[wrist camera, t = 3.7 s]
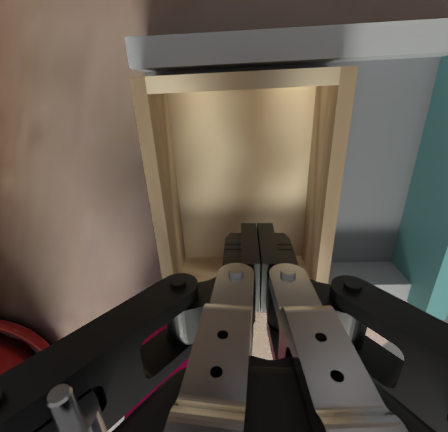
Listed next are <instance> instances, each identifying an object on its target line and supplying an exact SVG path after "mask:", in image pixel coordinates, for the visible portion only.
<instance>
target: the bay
mask: <svg viewBox="0 0 448 432" xmlns="http://www.w3.org/2000/svg"><path fill="white" fill-rule="evenodd" d="M124 38H125V45H126V51H127V57H128V63H129V69H132V70H137V71H143V72H146V76H162V75H182V74H201V73H221V72H240V71H260V70H279V69H299V68H318V67H338V66H357V65H358V72H357V79H356V86H355V93H354V101H353V108H352V115H351V122H350V129H349V137H348V144H347V151H346V158H345V165H344V173H343V180H342V187H341V194H340V201H339V209H338V216H337V223H336V230H335V237H334V245H333V252H332V259H331V266H330V273H329V281H328V284H330V285H331V281H332V280H333V279H334V278H335V277H337V276H342V275H349V276H355V277H358V278H361V279H363V280H365V281H367V282H369V283H371V284H373V285H375V286H376V287H378V288H380V289H382V290H384V291H386V292H388V293H390V294H392V295H394V296H396V297H398V298H399V299H401V300H407V301H408V302H409V304H411V305H413V306H415V307H417V308H419V309H421V310H423V311H424V312H426V313H428V314H430V315H432V316H434V317H436V318H438V319H440V320H445V319H446V317H447V314H448V18H439V19H422V20H406V21H389V22H372V23H355V24H338V25H321V26H304V27H287V28H270V29H253V30H236V31H219V32H203V33H186V34H169V35H152V36H135V37H124ZM259 301H260V300H259Z"/></svg>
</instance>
